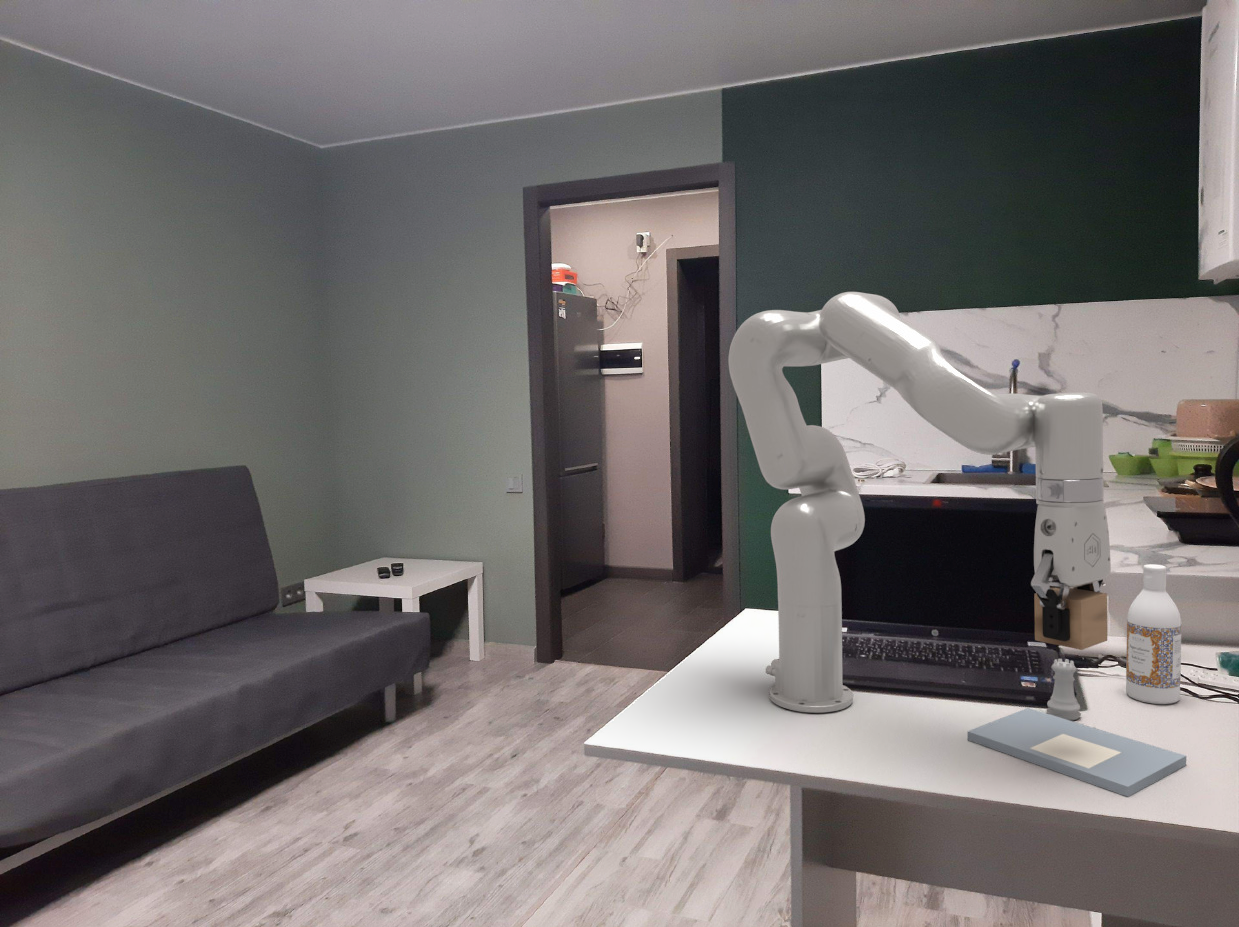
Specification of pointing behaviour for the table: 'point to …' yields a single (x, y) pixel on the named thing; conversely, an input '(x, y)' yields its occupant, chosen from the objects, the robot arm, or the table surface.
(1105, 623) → the walnut cube
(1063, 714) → the rook chess piece
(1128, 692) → the bath foam
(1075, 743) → the build board
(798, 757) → the table surface
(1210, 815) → the table surface
